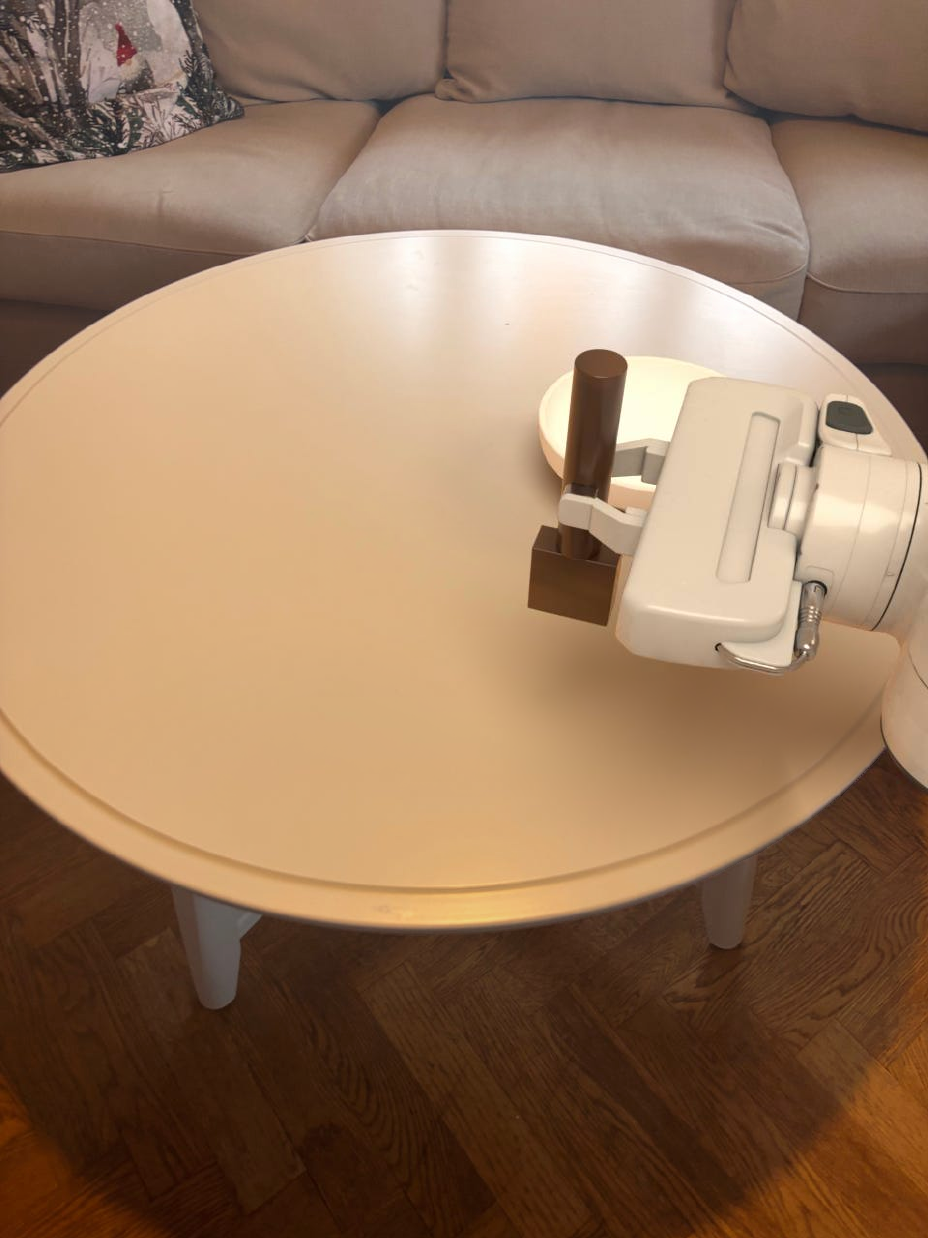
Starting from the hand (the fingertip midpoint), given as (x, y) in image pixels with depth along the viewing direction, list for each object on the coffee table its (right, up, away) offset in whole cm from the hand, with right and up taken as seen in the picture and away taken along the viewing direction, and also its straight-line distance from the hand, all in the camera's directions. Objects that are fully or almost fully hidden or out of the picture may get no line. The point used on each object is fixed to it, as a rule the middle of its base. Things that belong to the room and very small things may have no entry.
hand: (570, 479), depth 53 cm
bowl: (+10, +4, +34) cm, 36 cm away
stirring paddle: (+1, -7, +7) cm, 10 cm away
